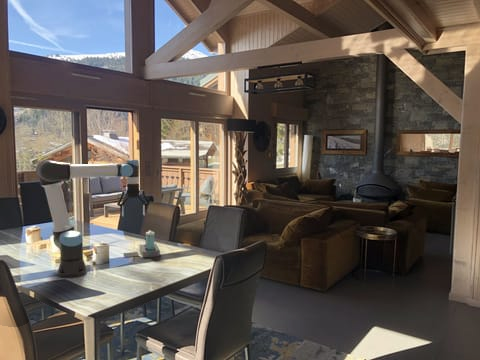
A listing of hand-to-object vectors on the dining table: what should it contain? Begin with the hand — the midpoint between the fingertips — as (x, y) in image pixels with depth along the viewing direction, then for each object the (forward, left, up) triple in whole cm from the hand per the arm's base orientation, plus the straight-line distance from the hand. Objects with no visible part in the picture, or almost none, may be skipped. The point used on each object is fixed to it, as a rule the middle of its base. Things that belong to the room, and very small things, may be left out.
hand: (133, 215), depth 246 cm
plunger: (+10, +6, -24) cm, 27 cm away
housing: (+10, +1, -26) cm, 28 cm away
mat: (-2, +1, -26) cm, 27 cm away
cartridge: (+10, -3, -27) cm, 29 cm away
